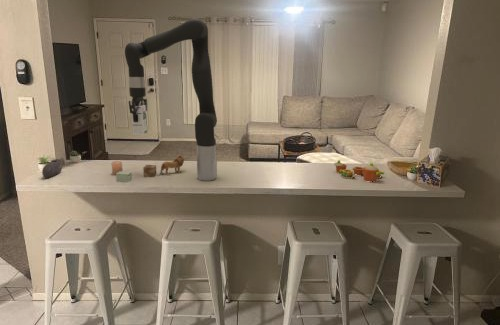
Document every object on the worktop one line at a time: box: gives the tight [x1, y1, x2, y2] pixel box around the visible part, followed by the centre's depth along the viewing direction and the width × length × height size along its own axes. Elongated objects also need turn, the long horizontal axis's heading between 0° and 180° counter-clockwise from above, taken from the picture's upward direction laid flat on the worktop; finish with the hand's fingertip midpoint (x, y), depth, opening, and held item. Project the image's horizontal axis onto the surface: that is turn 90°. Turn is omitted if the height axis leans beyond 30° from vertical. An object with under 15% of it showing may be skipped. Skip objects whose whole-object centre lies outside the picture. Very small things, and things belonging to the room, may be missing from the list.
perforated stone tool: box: [41, 158, 63, 179], centre depth 177 cm, size 15×5×7 cm, turn 179°
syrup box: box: [130, 105, 148, 136], centre depth 176 cm, size 6×6×14 cm
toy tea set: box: [333, 159, 385, 182], centre depth 188 cm, size 26×16×10 cm, turn 63°
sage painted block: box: [115, 170, 133, 183], centre depth 172 cm, size 6×4×4 cm, turn 81°
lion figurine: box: [159, 154, 185, 176], centre depth 185 cm, size 15×5×9 cm, turn 133°
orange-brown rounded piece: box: [111, 160, 124, 176], centre depth 182 cm, size 5×5×6 cm
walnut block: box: [142, 164, 157, 178], centre depth 181 cm, size 5×5×5 cm
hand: (139, 120), depth 177 cm, fingers closed on syrup box, 6 cm apart
